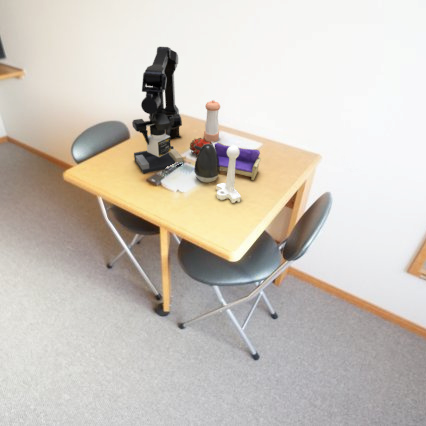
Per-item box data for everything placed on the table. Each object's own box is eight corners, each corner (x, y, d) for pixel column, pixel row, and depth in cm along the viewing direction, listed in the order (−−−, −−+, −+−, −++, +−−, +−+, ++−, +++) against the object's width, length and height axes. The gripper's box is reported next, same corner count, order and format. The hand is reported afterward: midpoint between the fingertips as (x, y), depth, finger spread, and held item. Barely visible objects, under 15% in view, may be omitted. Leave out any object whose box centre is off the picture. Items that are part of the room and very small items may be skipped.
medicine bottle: (159, 157, 131) (157, 129, 123) (147, 152, 134) (144, 124, 126) (171, 151, 135) (170, 124, 128) (159, 146, 138) (157, 119, 131)
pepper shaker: (205, 135, 164) (206, 97, 152) (219, 136, 163) (221, 98, 152) (203, 141, 158) (204, 102, 147) (217, 142, 158) (220, 103, 146)
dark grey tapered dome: (194, 172, 133) (195, 137, 124) (219, 173, 133) (222, 139, 124) (192, 184, 125) (192, 149, 116) (218, 186, 125) (221, 151, 116)
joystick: (242, 200, 118) (249, 151, 106) (226, 206, 115) (230, 156, 102) (225, 186, 125) (229, 138, 113) (209, 191, 122) (211, 143, 110)
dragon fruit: (187, 158, 146) (210, 157, 151) (194, 155, 138) (218, 154, 144) (184, 140, 146) (207, 139, 151) (192, 135, 138) (216, 135, 144)
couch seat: (173, 153, 146) (172, 145, 144) (183, 165, 138) (183, 157, 135) (134, 161, 139) (133, 152, 137) (143, 173, 131) (142, 165, 128)
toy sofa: (206, 171, 134) (206, 148, 128) (212, 162, 141) (214, 140, 135) (254, 181, 129) (257, 159, 123) (259, 171, 136) (262, 149, 130)
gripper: (138, 115, 113) (142, 154, 122) (187, 108, 120) (187, 146, 130) (129, 105, 121) (134, 143, 130) (175, 99, 128) (176, 136, 137)
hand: (158, 142), depth 132 cm, fingers closed on medicine bottle, 9 cm apart
